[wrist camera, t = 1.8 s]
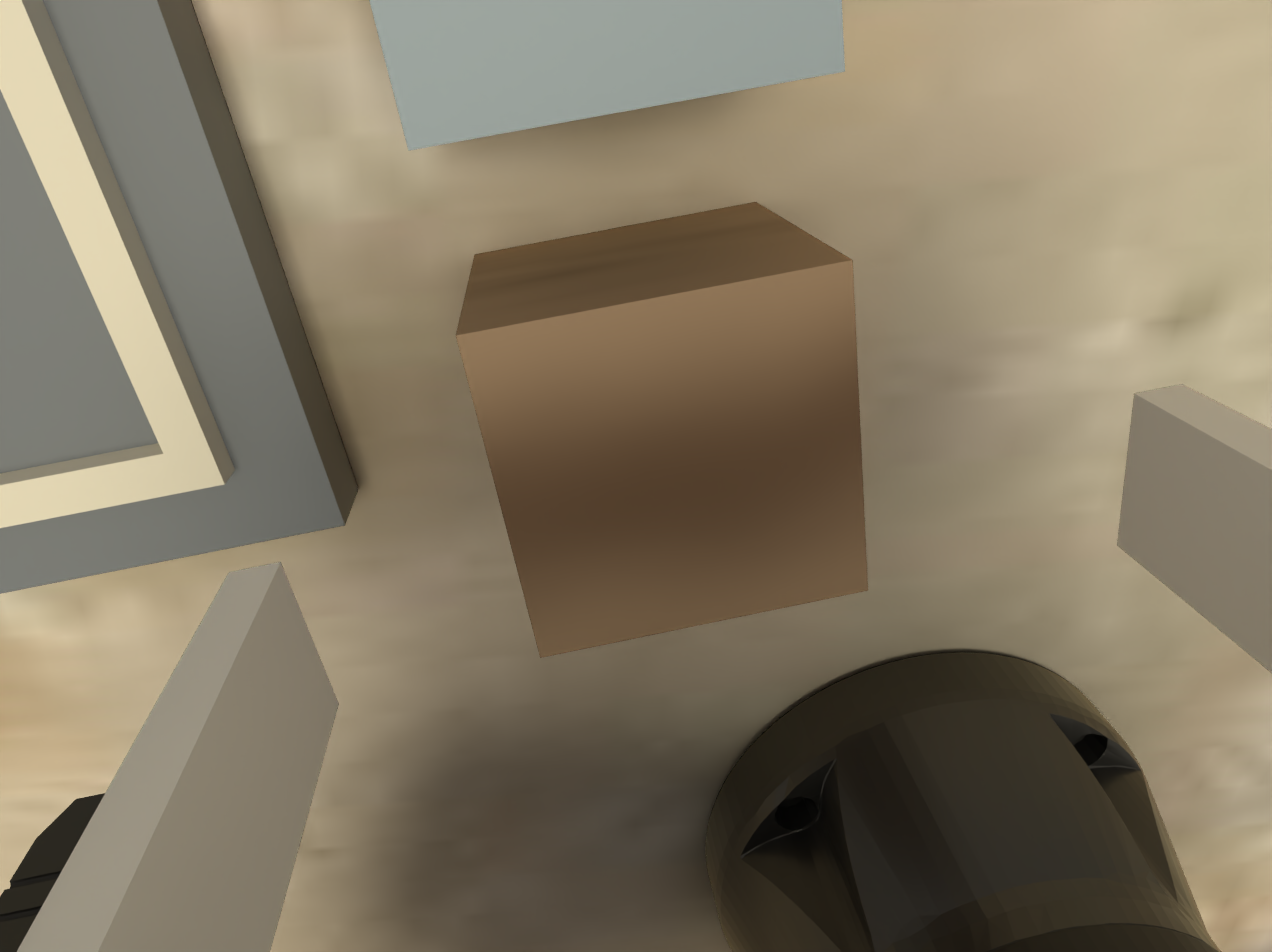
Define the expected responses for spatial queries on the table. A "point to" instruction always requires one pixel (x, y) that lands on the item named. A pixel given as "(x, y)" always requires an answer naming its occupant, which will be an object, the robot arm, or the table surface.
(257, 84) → the table surface
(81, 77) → the grey square base plate
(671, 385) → the walnut block
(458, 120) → the slate blue block
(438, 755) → the table surface
